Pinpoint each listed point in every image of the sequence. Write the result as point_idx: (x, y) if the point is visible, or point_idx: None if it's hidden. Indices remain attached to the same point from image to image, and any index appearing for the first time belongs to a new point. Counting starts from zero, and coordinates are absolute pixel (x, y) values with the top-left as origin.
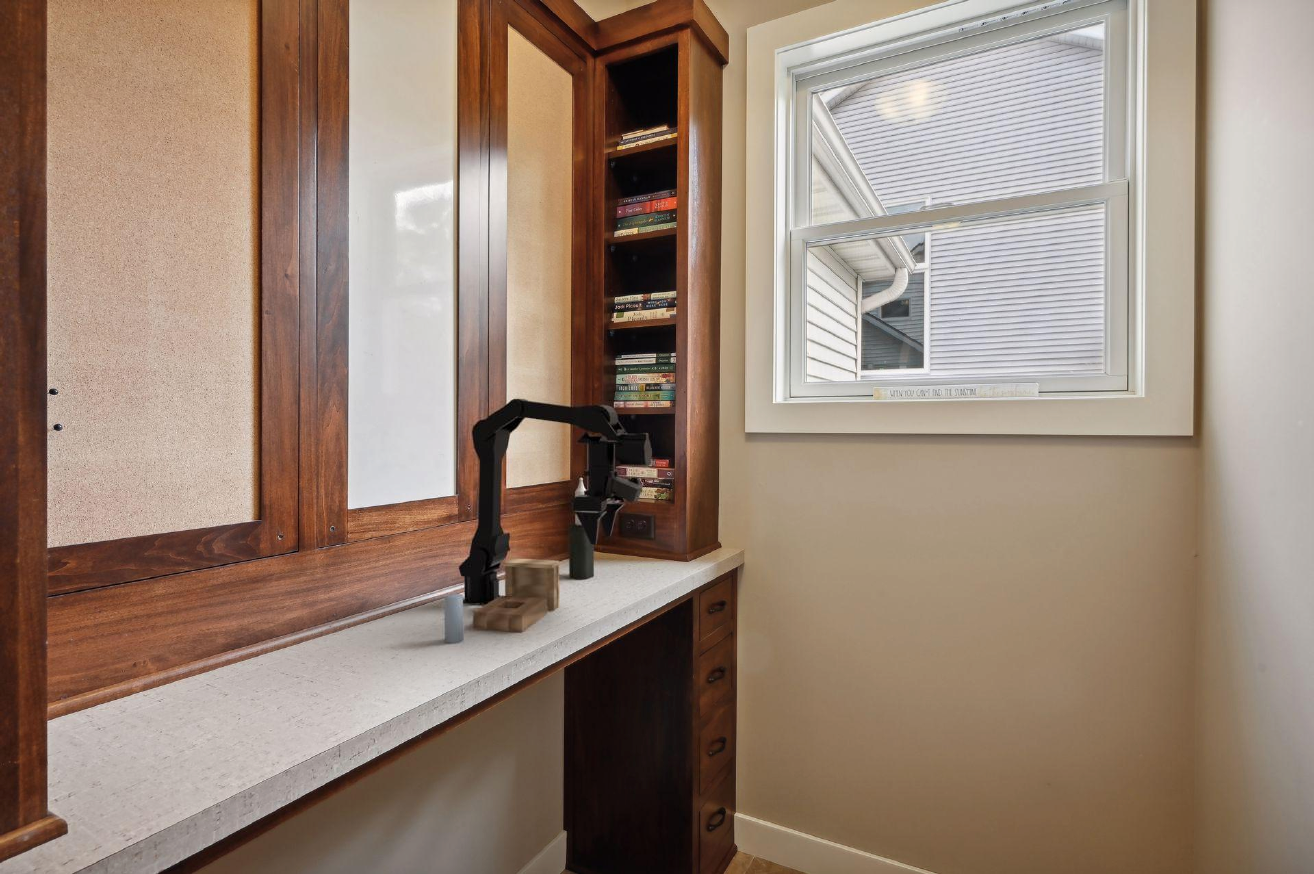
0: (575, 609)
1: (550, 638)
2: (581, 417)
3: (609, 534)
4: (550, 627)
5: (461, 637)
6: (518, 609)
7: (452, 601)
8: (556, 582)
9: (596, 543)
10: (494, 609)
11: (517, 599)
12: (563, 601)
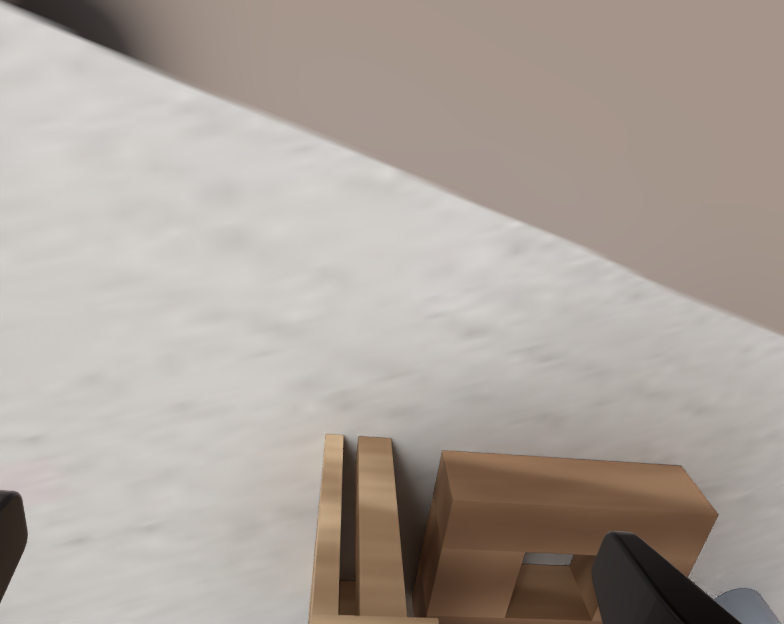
0: (358, 359)
1: (772, 354)
2: None
3: (5, 520)
4: (629, 390)
5: (757, 600)
6: None
7: None
8: (361, 530)
9: (614, 532)
10: None
11: (478, 592)
12: (233, 439)
